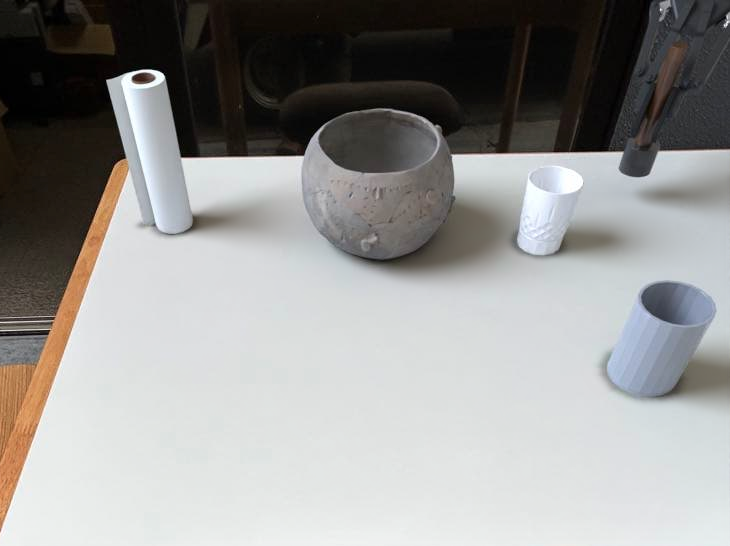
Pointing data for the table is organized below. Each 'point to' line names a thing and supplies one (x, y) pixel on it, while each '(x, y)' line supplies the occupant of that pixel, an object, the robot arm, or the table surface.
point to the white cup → (548, 208)
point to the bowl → (378, 182)
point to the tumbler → (660, 337)
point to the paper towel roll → (152, 148)
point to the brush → (652, 117)
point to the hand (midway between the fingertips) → (643, 136)
